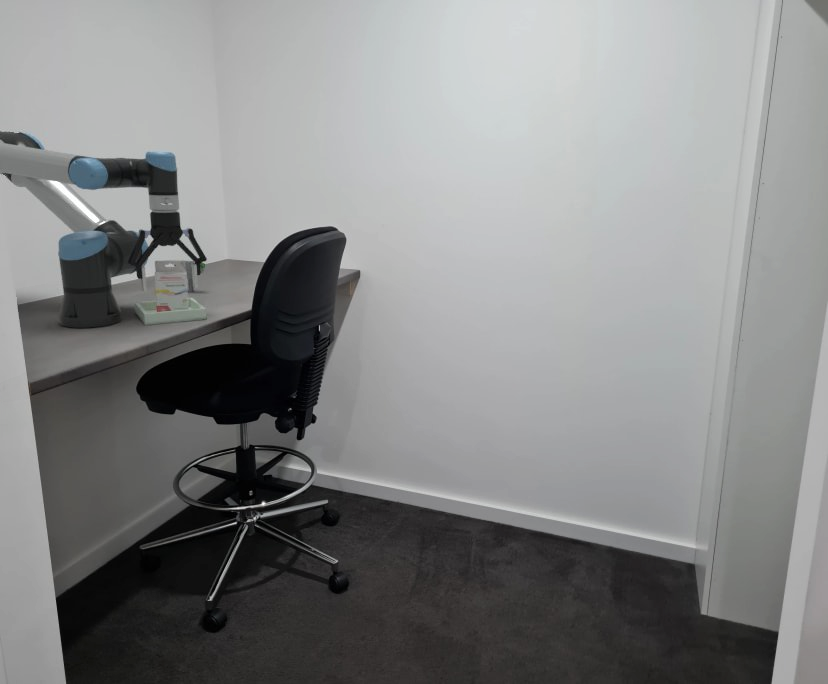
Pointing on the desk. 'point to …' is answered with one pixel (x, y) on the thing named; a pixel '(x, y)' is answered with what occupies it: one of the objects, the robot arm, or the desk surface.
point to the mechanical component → (189, 273)
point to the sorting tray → (169, 313)
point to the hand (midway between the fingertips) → (170, 288)
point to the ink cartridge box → (171, 286)
